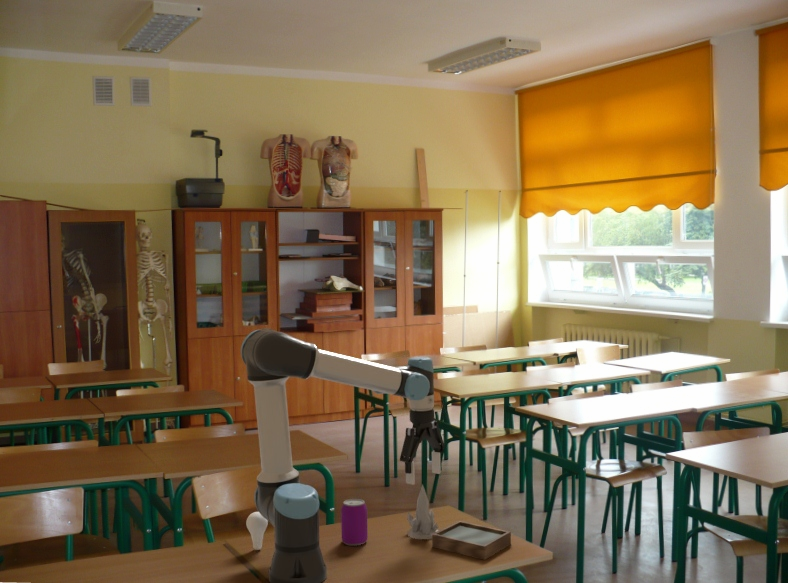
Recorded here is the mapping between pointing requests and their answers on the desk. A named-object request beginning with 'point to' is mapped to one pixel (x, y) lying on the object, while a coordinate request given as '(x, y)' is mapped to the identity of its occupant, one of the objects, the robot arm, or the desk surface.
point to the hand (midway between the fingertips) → (423, 478)
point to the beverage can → (354, 522)
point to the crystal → (422, 519)
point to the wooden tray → (471, 539)
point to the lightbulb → (256, 528)
